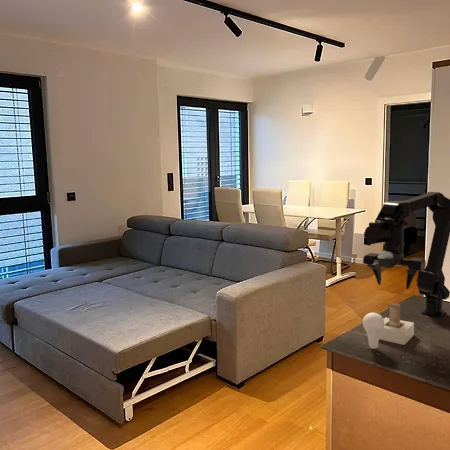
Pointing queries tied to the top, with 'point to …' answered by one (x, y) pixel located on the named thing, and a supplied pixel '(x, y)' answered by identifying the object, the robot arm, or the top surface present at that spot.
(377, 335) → the lightbulb
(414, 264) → the robot arm
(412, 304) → the top surface
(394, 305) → the dowel
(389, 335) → the socket
